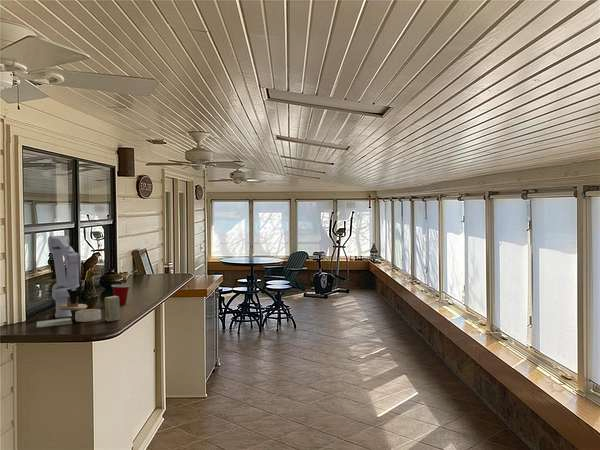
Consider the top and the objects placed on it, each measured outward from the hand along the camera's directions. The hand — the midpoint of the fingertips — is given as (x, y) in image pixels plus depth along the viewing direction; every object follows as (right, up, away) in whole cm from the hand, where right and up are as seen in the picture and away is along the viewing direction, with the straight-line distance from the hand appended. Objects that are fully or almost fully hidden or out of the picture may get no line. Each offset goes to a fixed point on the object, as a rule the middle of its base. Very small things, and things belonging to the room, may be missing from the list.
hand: (73, 303), depth 270 cm
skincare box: (+20, -9, +1) cm, 22 cm away
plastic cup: (+8, -8, +49) cm, 50 cm away
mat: (-8, -10, -4) cm, 13 cm away
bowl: (+6, -9, +3) cm, 12 cm away
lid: (0, -3, 0) cm, 3 cm away
